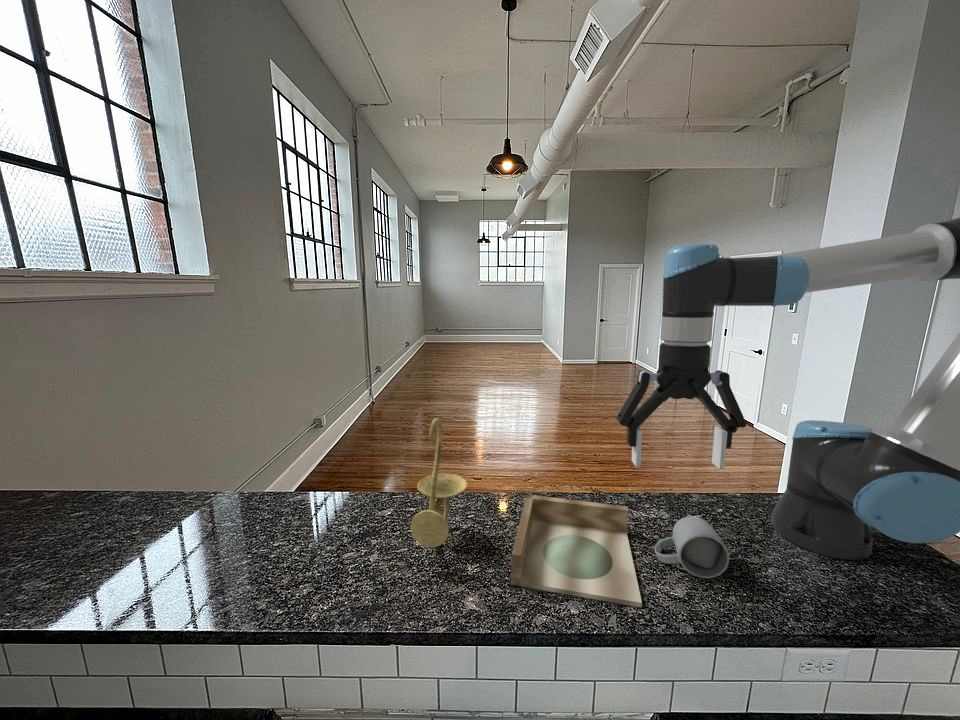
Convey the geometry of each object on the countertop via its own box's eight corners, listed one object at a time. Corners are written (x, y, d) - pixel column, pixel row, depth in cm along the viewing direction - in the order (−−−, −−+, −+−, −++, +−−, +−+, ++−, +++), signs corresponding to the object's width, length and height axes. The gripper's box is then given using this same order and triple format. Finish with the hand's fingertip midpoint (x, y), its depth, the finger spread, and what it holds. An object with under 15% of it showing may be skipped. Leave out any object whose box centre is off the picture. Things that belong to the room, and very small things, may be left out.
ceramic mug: (711, 551, 73) (715, 513, 72) (728, 582, 65) (732, 539, 64) (650, 544, 76) (652, 506, 74) (658, 572, 68) (661, 531, 67)
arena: (625, 532, 79) (627, 506, 78) (641, 607, 60) (644, 575, 59) (525, 518, 84) (526, 494, 83) (510, 584, 64) (511, 554, 64)
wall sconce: (456, 569, 68) (456, 430, 64) (403, 563, 69) (399, 426, 65) (470, 523, 82) (471, 406, 78) (426, 519, 83) (424, 404, 79)
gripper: (751, 340, 67) (740, 457, 71) (602, 340, 70) (598, 454, 73) (780, 345, 60) (766, 476, 63) (612, 345, 62) (607, 472, 66)
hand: (676, 464), depth 68 cm, fingers open, 13 cm apart
